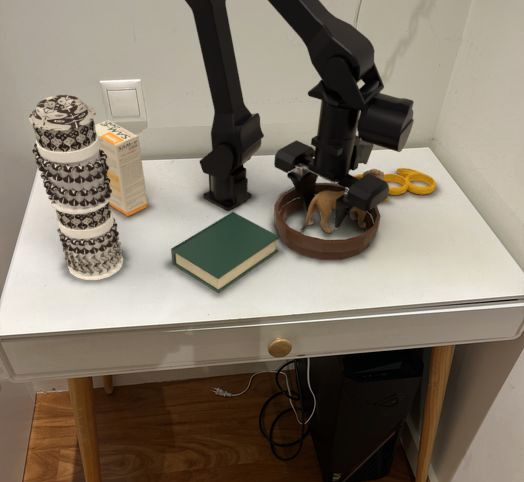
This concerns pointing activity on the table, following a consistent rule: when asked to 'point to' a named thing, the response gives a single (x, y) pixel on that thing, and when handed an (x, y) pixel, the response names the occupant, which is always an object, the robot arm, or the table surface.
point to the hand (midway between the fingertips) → (323, 219)
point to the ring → (316, 245)
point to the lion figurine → (328, 201)
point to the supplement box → (123, 167)
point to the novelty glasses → (408, 182)
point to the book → (224, 251)
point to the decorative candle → (77, 185)
